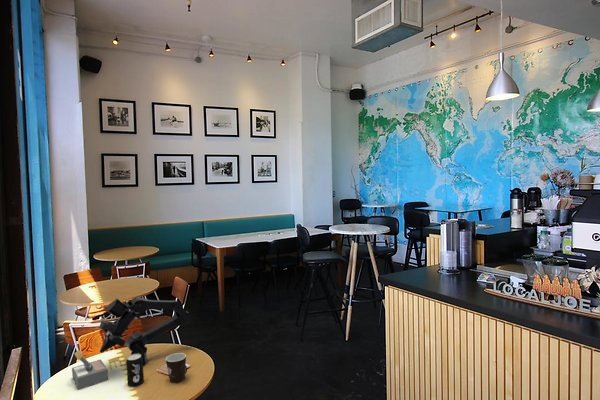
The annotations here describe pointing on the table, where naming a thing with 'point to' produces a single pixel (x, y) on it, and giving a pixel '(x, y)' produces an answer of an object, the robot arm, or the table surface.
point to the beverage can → (135, 370)
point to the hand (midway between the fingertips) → (100, 352)
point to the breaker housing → (89, 374)
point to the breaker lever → (83, 359)
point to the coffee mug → (176, 367)
